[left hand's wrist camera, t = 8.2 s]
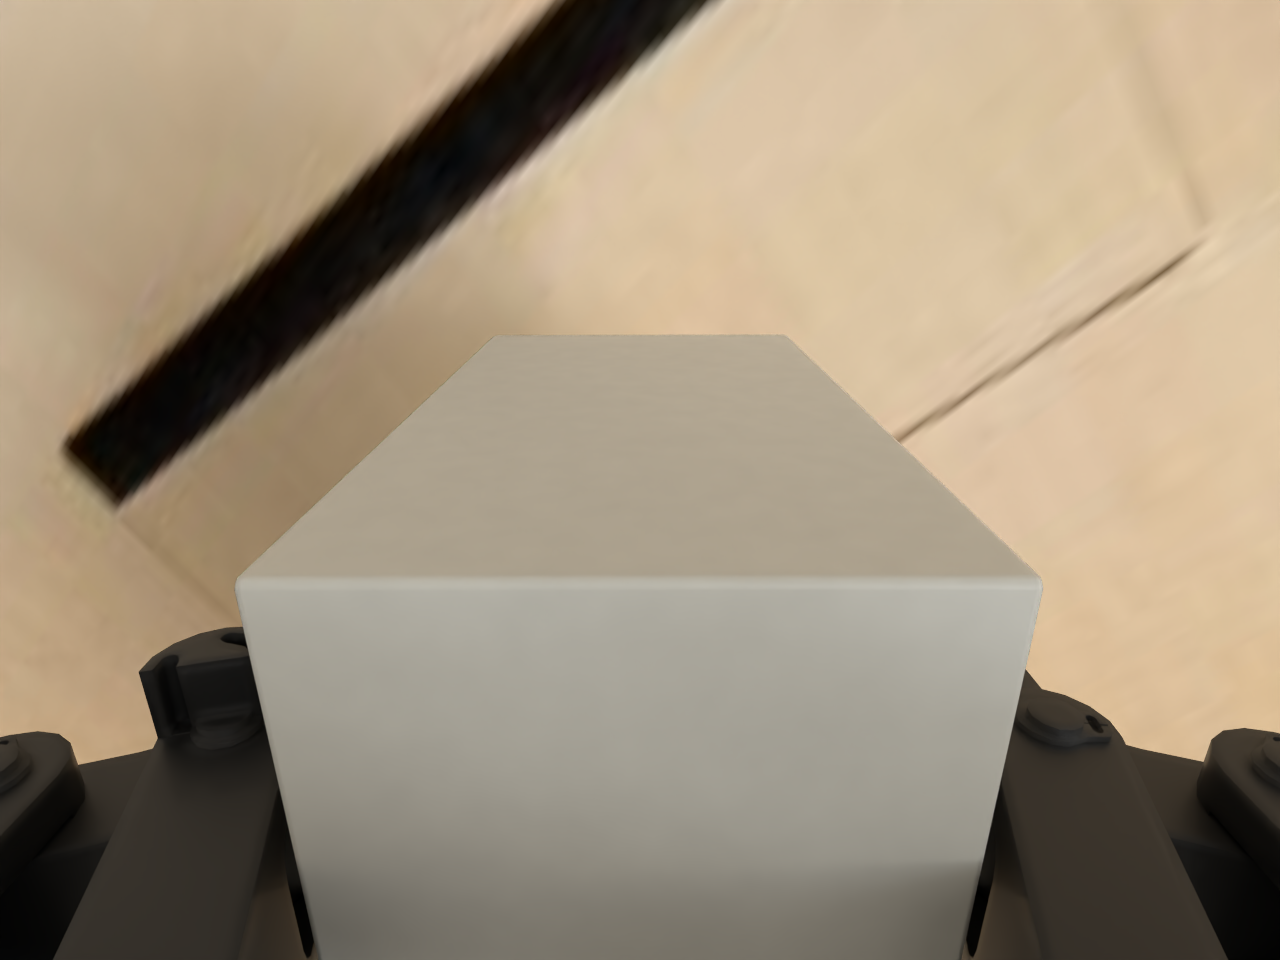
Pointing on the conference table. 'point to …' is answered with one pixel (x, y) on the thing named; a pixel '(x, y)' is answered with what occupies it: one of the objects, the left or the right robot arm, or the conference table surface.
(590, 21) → the conference table surface
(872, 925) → the bar
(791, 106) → the conference table surface
